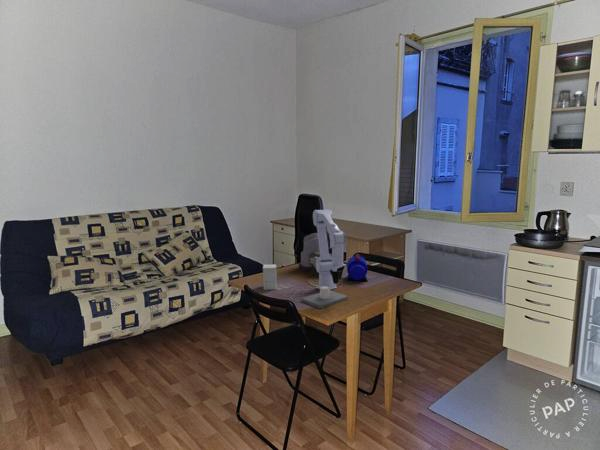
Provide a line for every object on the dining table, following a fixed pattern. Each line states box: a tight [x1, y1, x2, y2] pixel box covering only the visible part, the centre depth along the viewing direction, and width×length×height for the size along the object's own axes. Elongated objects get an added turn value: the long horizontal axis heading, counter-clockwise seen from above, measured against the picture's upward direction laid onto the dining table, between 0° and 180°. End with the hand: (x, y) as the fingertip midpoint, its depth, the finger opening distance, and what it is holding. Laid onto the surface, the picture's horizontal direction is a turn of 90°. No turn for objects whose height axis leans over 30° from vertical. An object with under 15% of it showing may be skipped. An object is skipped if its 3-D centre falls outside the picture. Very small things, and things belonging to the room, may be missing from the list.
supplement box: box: [262, 264, 278, 291], centre depth 233 cm, size 7×7×13 cm
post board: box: [300, 289, 349, 309], centre depth 213 cm, size 20×14×5 cm
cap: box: [319, 286, 330, 299], centre depth 213 cm, size 5×5×5 cm
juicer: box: [297, 232, 332, 277], centre depth 266 cm, size 30×16×24 cm, turn 33°
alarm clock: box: [346, 253, 369, 282], centre depth 248 cm, size 12×12×15 cm
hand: (337, 281), depth 214 cm, fingers open, 7 cm apart
